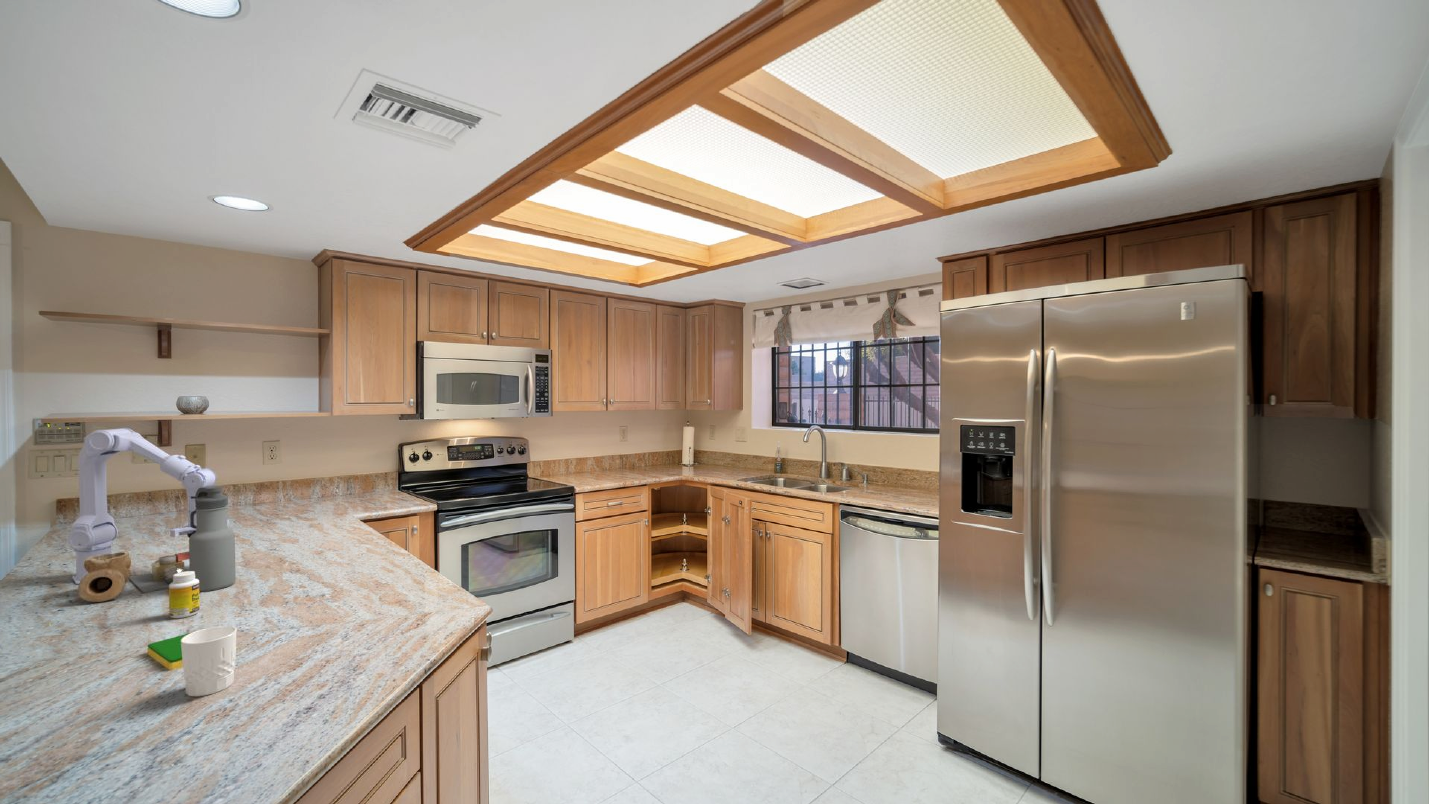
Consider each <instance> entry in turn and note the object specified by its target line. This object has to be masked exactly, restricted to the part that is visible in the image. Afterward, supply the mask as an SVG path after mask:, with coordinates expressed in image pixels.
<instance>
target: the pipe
mask: <svg viewBox="0 0 1429 804" xmlns="http://www.w3.org/2000/svg"><path fill="white" fill-rule="evenodd" d="M131 566H132V559H131V556H130V553H129V552H127V551H125V552H124V551H119V552H115V553H112V554H103V555H99V556H91V557H89V558H86V560H85V562H84V568H85V569H86V571H87V572H88V574H87V575H85V576H84V577H83V578H82V580H81V581H80V583H79V584H78V594H79V597H80V598H81V599H82V600H85V601H87V602H92V603H102V602H106V601H111V600H114V599H115V598H116V597H118V596H120V594H121V593H122V592H123V591H124V588H125V585H126V583H128V582H129V581H130V579H129V578H130V577H131V571H130V569H131Z"/></svg>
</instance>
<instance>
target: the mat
mask: <svg viewBox="0 0 1429 804" xmlns="http://www.w3.org/2000/svg"><path fill="white" fill-rule="evenodd" d="M184 571H185V572H186V571H190V566H189V565H188V566H184ZM129 581H130V582H131V583H133V584H134V586H135V587H137V589H138V590H139V591H140V592H141V593H143V594H145V593H149V592H150V591H151V592H156V591H161V590H165V588H166V589H169V584H167V583H166V582H165V581H159V582H156V581H155V580H154V579H153V578H152V572H150V573H144V574H140V575H134V576H130V578H129ZM151 592H150V593H151Z"/></svg>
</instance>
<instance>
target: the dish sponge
mask: <svg viewBox="0 0 1429 804" xmlns="http://www.w3.org/2000/svg"><path fill="white" fill-rule="evenodd" d="M191 633H192V632H190V633H185V634H182V635H178V636H174V637H170V638H166V639H162V640H159V641H156V642H155V641H154V642H151V643H148V644H147V655H148V656H150V657H151V658H152V659H154V660H155V661H156V662H158V663H160V664H161V665H162V667H165V668H166V669H167V670H169V671H172V670H177V669H180V668H183V662H182V649H181V639H182V638H183V637H185V636H186V635H188V634H191Z"/></svg>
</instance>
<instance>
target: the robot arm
mask: <svg viewBox="0 0 1429 804" xmlns="http://www.w3.org/2000/svg"><path fill="white" fill-rule="evenodd" d="M83 442H84V443H83V446H82V448H81V449H80V452H79V453H78V457H77V458H78V487H79V488H78V491H79V517H78V518H77V519H76V520H75V521H73V523H72V524H71V527H70V528H71V530H70V533H69V534H68V536H67V543H68V545H69V547H70V548H71V549H73V552H75V573H76V575H73V576H72V577H71V578H72V580H73V581H74V583H75V584H77V585H79V583H80V581H81V580H82V578H83V577H84V576H85V575H87V574H88V572H87V571H86V569H85V568H84V562H85V560H86V558H89V557H91V556H99V555H103V554H113V553H112V551H113V550H112V545H113V544H114V542H113V541H115V540H116V538H117V537H118V535H119V530H118V527H117V526H116V524H115V518H114V517H113V516H112V515H111V514H109V513H108V493H107V492H108V491H107V489H108V488H107V487H108V485H107V460H109V459H110V458H111V457H113V456H114V455H116V454H117V453H120V452H133V453H136V454H137V455H139V456H141V457H143V458H145V459H148V460H150V461H152V462H154V463H155V464H158V465H159V467H160V468H159V469H160V471H161V472H163V473H165V474H167V475H168V476H171V477H172V478H174V479H175V480H177V481H179V482H181V485H182V487H183V488H184V489H185V490H186V496H187V525H184V526H182V527H177V528H174V529H173V528H172V529H170V530H169V531H170V534H169V535H170V538H171V537H174V538H175V537H180V536H184V535H187V537H188V539H189V538H190V536H191V535H192V534H194V533H195V532H196V531H197V529H194V528H192V527H191V526H190V514H191V512H193V511H195V509H196V507H195V505H196V504H195V495H196V492H197V490H198V489H199V488H201V487H210V486H215V484H216V482H217V479H218V477H217V473H216V472H215V471H213V470H212V469H211V468H209V467H206V468H202V466H200V464H196V463H193V462H192V461H190V460H187V459H186V458H187V457H186V456H185V455H182V454H181V455H179V454H173V455H170V454H168V453H167V452H166V451H164V450H163V449H161V448H159V447H157V446H156V445H154V444H153V443H151V442H150V441H148V440H146V439H145V438H144V437H143V436H142V435H141V434H140V433H139V432H136V431H134V430H133V429H130V428H128V427H120V428H113V429H112V428H111V429H97V430H94V431H91V433H89V434H87V435H86V436H84V437H83ZM194 525H195V526H197V522H196V514H195V515H194ZM227 527H230V519H227Z"/></svg>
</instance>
